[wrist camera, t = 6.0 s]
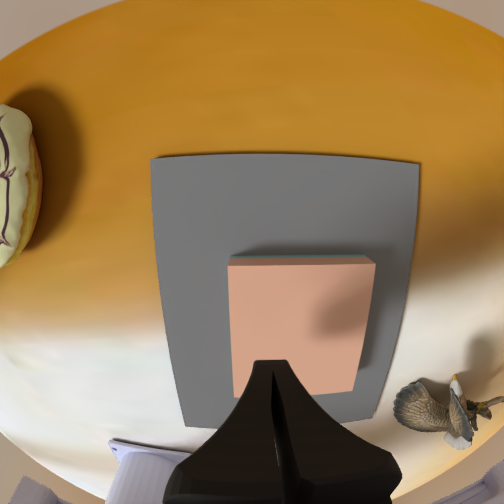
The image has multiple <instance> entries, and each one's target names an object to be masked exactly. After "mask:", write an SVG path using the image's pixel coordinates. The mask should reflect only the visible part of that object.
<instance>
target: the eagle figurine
mask: <svg viewBox="0 0 504 504" xmlns="http://www.w3.org/2000/svg"><path fill="white" fill-rule="evenodd" d="M456 376H457V374H455V375H454V376H453V380H452V382H451V384H450V393H451V399H450V403H448V404H446V405H442V404H440V403H439V402H437V401H436V400H435V399H433V398H432V397H431V396H430V394H429V392H428V390H427V389H426V388H425V386H424V385H423V384H422V383H421V382H420V381H418V382H417V383H416V384H409V385H408V387H404V388H402V389H401V391H400V392H399V393H397V395H396V398H397V400H395V401H394V405H395V406H396V407H395V408H393V410H394V411H395V413H394V416H395V417H396V419H398V422H400V423H401V424H402V425H404V426H406V427H408V428H410V429H413V430H417V431H420V432H438V431H439V432H440V431H448V432H447V433H446V434H445V436H444V439H445V441H446V442H447V443H449V444H450V445H451V446H452V447H453V448H455V449H457V450H463V449H466V448H468V447H470V446H471V445H472V436H474V432H473V430H472V428H471V427H473V429H474V430H475V431H478V428H477V423H476V419H477V416H476V415H477V414H479V415H481V416H482V417H484V418H487V419H491V417H492V414H491V411H490V410H489V409H488V407H490V406H492V405H495V404H497V403H500V402H504V397H502V396H500V397H496V398H493V399H491V400H489V401H485V402H481V403H480V402H473V401H470V400H466V399H465V397H464V395H463V393H462V390H461V386H460V384H459V382H458V380H457V377H456ZM469 421H471V425H470V422H469Z"/></svg>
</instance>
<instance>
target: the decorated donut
mask: <svg viewBox="0 0 504 504" xmlns="http://www.w3.org/2000/svg"><path fill="white" fill-rule="evenodd" d="M42 183H43V179H42V167H41V162H40V159H39V156H38V151H37V148H36V144H35V140H34V137H33V134H32V124H31V121H30V119H29V117H28V116H27V115H26V114H25V113H23V112H22V111H20V110H18V109H15V108H11V107H9V106H7V105H4V104H1V105H0V268H1V267H3V266H6V265H9V264H11V263H13V262H14V261H16V260H17V258H18V257H19V255H20V253H21V252H22V250H23V249H24V248H25V246H26V245H27V243H28V242H29V240H30V239H31V236H32V234H33V231H34V228H35V225H36V222H37V219H38V215H39V210H40V206H41V199H42Z"/></svg>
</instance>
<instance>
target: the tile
mask: <svg viewBox="0 0 504 504" xmlns="http://www.w3.org/2000/svg"><path fill="white" fill-rule="evenodd" d="M375 266H376V264H375V263H374V262H373V261H372V260H370V259H369V258H368V257H367V256H365V255H273V256H230V258H229V262H228V291H229V314H230V335H231V354H232V372H233V388H234V397H237V398H240V397H241V395H242V394H243V392H244V390H245V387H246V385H247V383H248V381H249V378H250V375H251V372H252V369H253V362H254V361H256V360H281V359H286V360H287V361H288V362H289V364H290V366H291V368H292V370H293V371H294V373H295V375H296V376H297V378H298V379H299V381H300V382H301V383H302V385H303V386H304V387H305V389H306V390H307V391H308V393H309V394H310V395H319V394H329V393H339V392H347V391H352V390H353V386H354V382H355V378H356V374H357V370H358V365H359V361H360V356H361V352H362V347H363V342H364V337H365V332H366V326H367V321H368V315H369V309H370V303H371V296H372V289H373V282H374V274H375Z"/></svg>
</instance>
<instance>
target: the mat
mask: <svg viewBox="0 0 504 504" xmlns="http://www.w3.org/2000/svg"><path fill="white" fill-rule="evenodd" d="M150 161H151V192H152V211H153V226H154V239H155V250H156V260H157V270H158V278H159V287H160V295H161V302H162V309H163V316H164V323H165V329H166V335H167V341H168V347H169V353H170V358H171V363H172V369H173V374H174V379H175V383H176V388H177V393H178V397H179V402H180V406H181V410H182V415H183V419H184V423H185V426H186V427H199V428H215V429H219V428H220V426H221V425H222V424H223V423H224V422H225V420H226V419H227V418H228V416H229V415H230V413H231V412H232V411H233V409H234V407H235V406H236V404H237V402H238V401H239V399H240V398H237V397H234V388H233V372H232V354H231V335H230V314H229V291H228V262H229V258H230V256H273V255H365V256H367V257H368V258H369V259H370V260H372V261H373V262H374V263H375V264H376V266H375V274H374V282H373V289H372V296H371V303H370V309H369V315H368V321H367V326H366V332H365V337H364V342H363V347H362V352H361V356H360V361H359V365H358V370H357V374H356V378H355V382H354V386H353V390H352V391H347V392H339V393H329V394H319V395H311V396H312V398H313V399H314V400H315V401H316V402H317V403H318V404H319V405H320V406H321V407H322V408H323V409H324V410H325V411H326V412H327V413H328V414H329V415H330V416H331V417H332V418H333V419H334V420H336V421H337V422H338V423H345V422H352V421H359V420H364V419H370V418H372V417H373V414H374V411H375V409H376V406H377V403H378V400H379V397H380V394H381V391H382V388H383V385H384V382H385V379H386V376H387V372H388V369H389V365H390V362H391V358H392V355H393V351H394V347H395V343H396V339H397V335H398V331H399V327H400V323H401V318H402V313H403V309H404V304H405V299H406V293H407V288H408V282H409V276H410V269H411V263H412V255H413V247H414V239H415V229H416V218H417V204H418V185H419V164H412V163H404V162H396V161H387V160H377V159H367V158H355V157H342V156H326V155H303V154H220V155H197V156H181V157H167V158H156V159H150Z"/></svg>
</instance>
